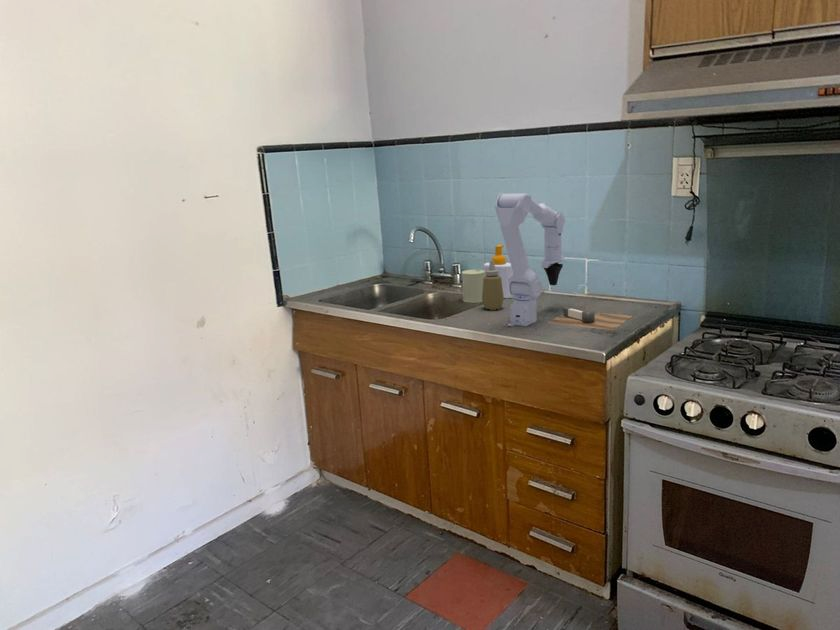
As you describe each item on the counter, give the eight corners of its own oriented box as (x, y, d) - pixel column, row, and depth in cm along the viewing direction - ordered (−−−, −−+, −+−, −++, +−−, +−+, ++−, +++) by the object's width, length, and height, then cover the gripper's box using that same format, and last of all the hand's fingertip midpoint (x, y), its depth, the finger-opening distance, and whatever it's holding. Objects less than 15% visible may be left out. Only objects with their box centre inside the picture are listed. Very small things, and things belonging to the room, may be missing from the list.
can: (490, 299, 249) (489, 269, 246) (476, 304, 242) (475, 273, 239) (472, 296, 255) (471, 267, 252) (457, 301, 248) (456, 271, 245)
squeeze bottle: (508, 309, 231) (506, 260, 227) (488, 312, 228) (487, 263, 224) (497, 305, 238) (496, 258, 234) (478, 307, 236) (476, 260, 231)
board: (613, 333, 194) (613, 329, 193) (547, 325, 206) (547, 322, 206) (632, 318, 208) (632, 315, 208) (569, 312, 221) (569, 309, 221)
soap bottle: (519, 295, 252) (518, 245, 247) (510, 299, 246) (509, 248, 241) (489, 293, 260) (488, 244, 255) (480, 297, 253) (478, 247, 248)
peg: (597, 321, 204) (597, 312, 203) (588, 323, 202) (588, 314, 201) (569, 314, 214) (569, 305, 214) (560, 316, 213) (560, 307, 212)
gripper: (555, 249, 209) (555, 289, 213) (572, 243, 221) (571, 281, 224) (535, 249, 213) (536, 288, 217) (553, 243, 225) (553, 280, 228)
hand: (553, 284), depth 221 cm, fingers closed
